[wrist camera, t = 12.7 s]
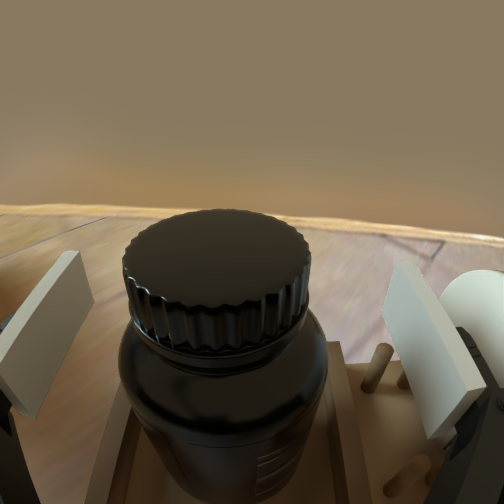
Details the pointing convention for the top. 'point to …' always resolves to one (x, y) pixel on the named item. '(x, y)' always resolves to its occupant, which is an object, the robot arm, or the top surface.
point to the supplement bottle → (223, 351)
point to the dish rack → (331, 425)
